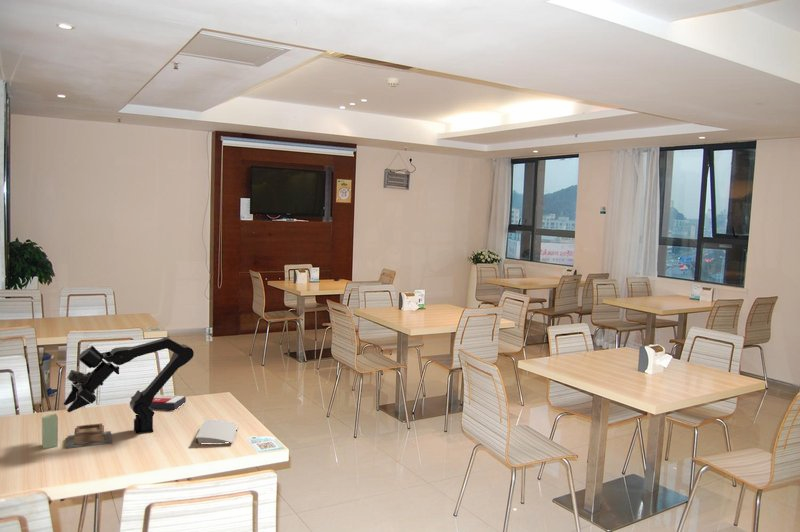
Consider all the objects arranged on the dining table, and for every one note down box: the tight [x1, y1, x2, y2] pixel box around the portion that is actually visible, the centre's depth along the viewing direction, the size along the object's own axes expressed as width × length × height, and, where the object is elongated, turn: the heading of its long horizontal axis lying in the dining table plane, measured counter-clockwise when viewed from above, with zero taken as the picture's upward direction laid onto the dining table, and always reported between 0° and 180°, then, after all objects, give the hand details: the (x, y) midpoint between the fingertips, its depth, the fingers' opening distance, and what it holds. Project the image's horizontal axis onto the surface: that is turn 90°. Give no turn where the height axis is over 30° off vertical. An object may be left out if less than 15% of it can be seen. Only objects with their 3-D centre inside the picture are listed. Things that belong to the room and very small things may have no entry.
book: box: [194, 418, 238, 444], centre depth 241 cm, size 15×23×4 cm, turn 7°
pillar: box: [41, 413, 59, 450], centre depth 225 cm, size 5×5×11 cm
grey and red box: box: [150, 394, 187, 411], centre depth 276 cm, size 11×4×15 cm
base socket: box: [65, 422, 113, 449], centre depth 231 cm, size 15×12×5 cm
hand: (66, 408), depth 227 cm, fingers open, 9 cm apart
